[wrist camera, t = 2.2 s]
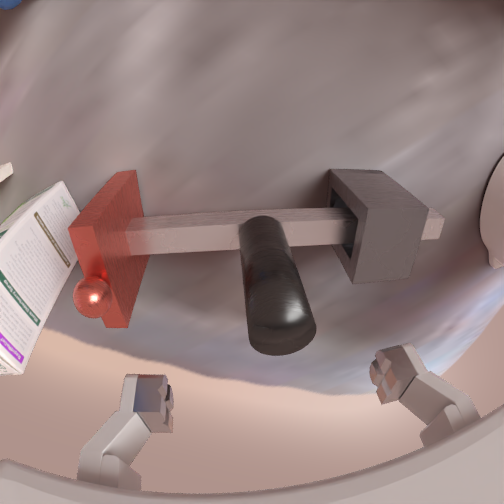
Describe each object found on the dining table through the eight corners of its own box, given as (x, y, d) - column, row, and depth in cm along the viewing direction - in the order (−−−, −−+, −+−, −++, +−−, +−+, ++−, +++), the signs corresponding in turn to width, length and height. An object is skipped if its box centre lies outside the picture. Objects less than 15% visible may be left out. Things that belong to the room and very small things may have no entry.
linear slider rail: (422, 166, 21) (527, 246, 11) (405, 238, 25) (481, 335, 15) (112, 172, 20) (24, 278, 9) (130, 252, 24) (84, 379, 13)
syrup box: (63, 177, 20) (-53, 297, 8) (95, 236, 23) (22, 380, 11) (21, 203, 20) (-78, 315, 8) (52, 255, 23) (-19, 381, 11)
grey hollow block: (381, 170, 22) (429, 209, 16) (370, 229, 25) (408, 278, 19) (329, 168, 22) (368, 208, 16) (323, 230, 25) (352, 284, 19)
